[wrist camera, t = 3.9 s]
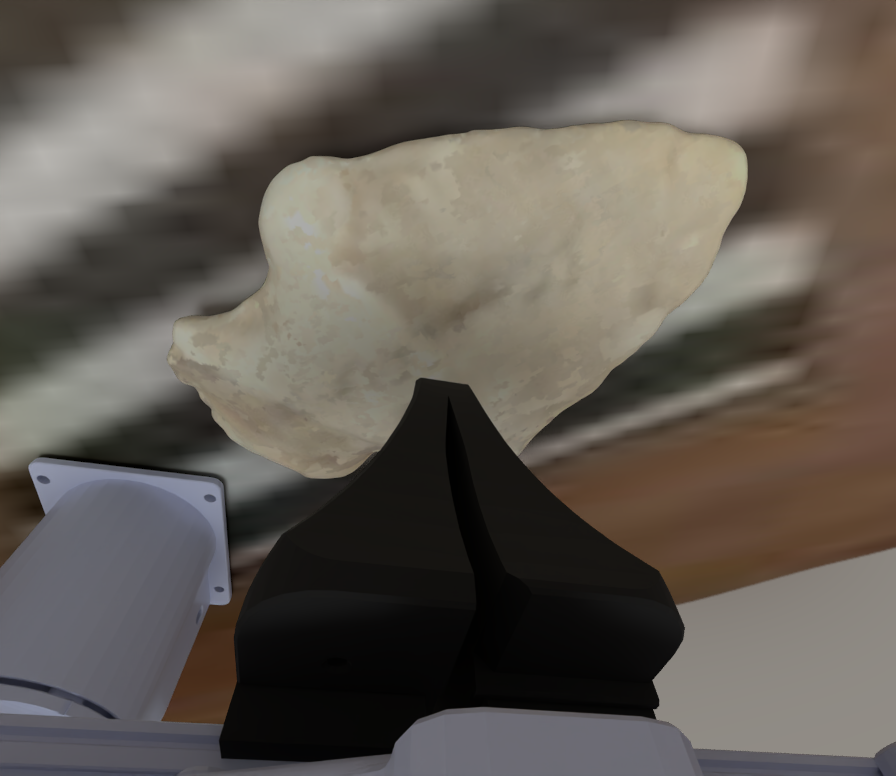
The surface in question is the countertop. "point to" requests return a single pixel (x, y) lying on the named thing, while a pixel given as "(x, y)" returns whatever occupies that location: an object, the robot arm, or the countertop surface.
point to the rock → (458, 281)
